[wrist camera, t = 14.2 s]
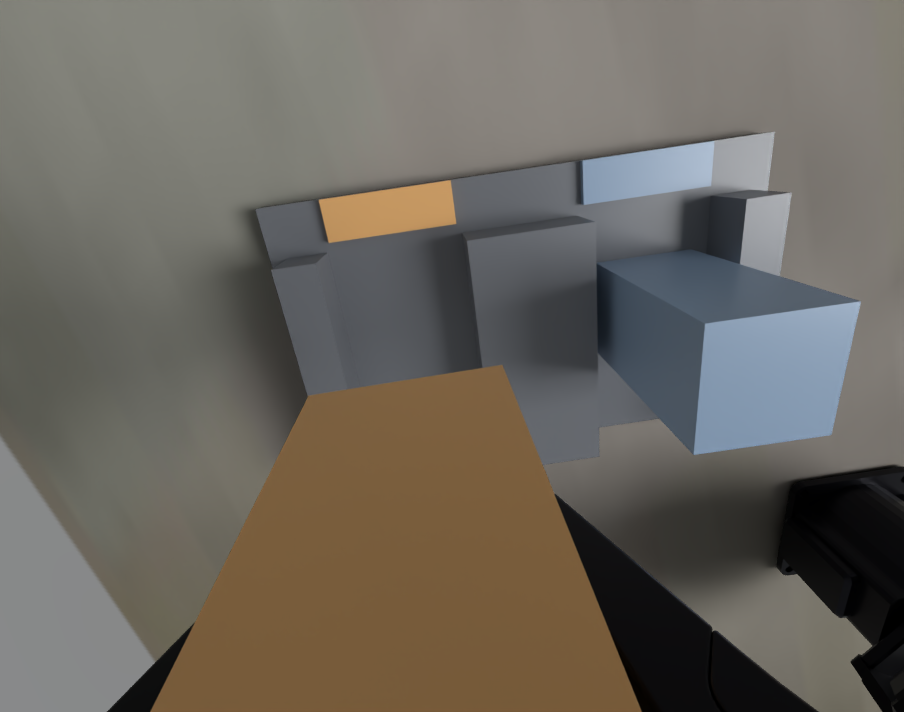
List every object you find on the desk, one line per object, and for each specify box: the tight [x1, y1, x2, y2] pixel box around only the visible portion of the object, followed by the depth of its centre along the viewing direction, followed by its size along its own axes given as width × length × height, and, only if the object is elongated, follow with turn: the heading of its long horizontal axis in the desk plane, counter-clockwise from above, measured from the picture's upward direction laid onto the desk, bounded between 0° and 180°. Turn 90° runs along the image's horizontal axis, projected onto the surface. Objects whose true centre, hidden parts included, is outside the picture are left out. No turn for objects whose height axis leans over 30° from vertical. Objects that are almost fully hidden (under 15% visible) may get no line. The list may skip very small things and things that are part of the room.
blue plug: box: [596, 249, 861, 455], centre depth 16 cm, size 4×4×8 cm
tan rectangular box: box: [151, 365, 642, 712], centre depth 6 cm, size 4×4×8 cm
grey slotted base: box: [255, 132, 792, 465], centre depth 19 cm, size 20×12×3 cm, turn 98°
